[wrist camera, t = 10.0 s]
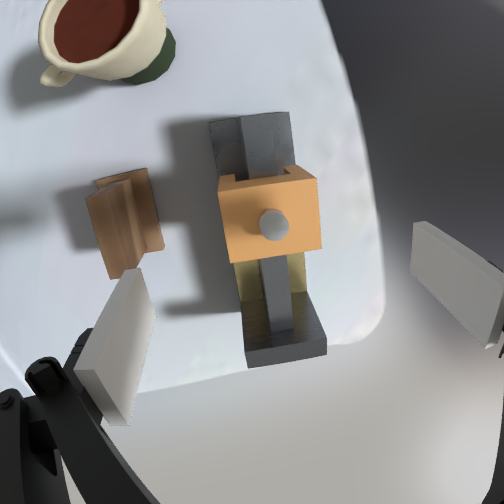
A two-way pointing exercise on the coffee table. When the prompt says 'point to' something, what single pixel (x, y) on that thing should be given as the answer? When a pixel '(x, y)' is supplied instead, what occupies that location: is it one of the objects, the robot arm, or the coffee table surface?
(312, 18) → the coffee table surface
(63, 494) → the robot arm
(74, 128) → the coffee table surface
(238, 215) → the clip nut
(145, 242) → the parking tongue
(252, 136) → the rail
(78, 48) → the character mug
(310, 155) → the coffee table surface
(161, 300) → the coffee table surface
